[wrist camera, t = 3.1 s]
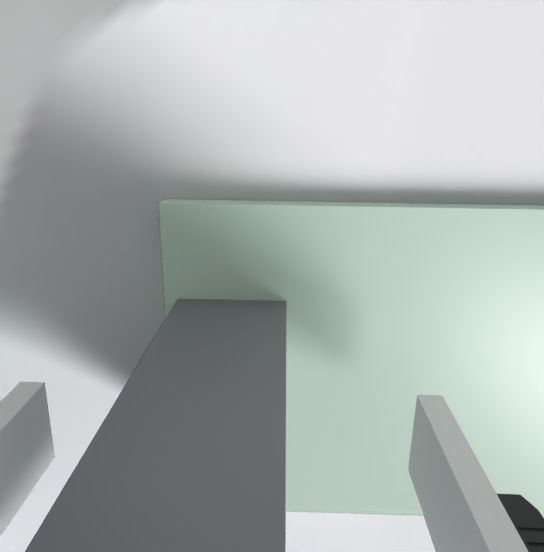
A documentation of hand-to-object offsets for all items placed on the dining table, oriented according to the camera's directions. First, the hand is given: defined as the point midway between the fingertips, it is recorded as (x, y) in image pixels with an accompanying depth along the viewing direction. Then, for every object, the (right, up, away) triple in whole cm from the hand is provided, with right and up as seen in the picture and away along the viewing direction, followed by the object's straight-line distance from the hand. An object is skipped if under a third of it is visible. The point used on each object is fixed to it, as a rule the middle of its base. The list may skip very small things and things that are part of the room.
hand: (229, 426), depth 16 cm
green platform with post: (+8, +1, +5) cm, 10 cm away
